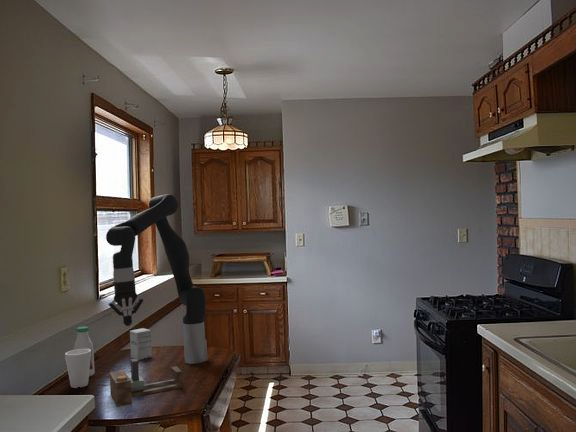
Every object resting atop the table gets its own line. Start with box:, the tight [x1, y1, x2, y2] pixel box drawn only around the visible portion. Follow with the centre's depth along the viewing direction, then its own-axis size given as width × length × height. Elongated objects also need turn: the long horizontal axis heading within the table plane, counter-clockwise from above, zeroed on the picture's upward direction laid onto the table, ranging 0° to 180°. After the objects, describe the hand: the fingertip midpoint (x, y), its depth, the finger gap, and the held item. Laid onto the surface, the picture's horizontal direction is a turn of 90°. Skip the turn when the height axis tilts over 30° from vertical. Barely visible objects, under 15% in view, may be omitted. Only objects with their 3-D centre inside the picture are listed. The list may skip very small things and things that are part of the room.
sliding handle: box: [129, 358, 145, 392], centre depth 184 cm, size 5×7×11 cm
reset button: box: [118, 376, 126, 382], centre depth 175 cm, size 2×2×4 cm
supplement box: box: [129, 327, 153, 361], centre depth 235 cm, size 7×7×13 cm
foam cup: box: [64, 349, 91, 389], centre depth 197 cm, size 10×9×13 cm
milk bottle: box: [73, 326, 95, 377], centre depth 210 cm, size 8×8×20 cm
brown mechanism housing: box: [109, 365, 183, 408], centre depth 183 cm, size 24×15×8 cm, turn 117°
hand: (127, 325), depth 190 cm, fingers closed
